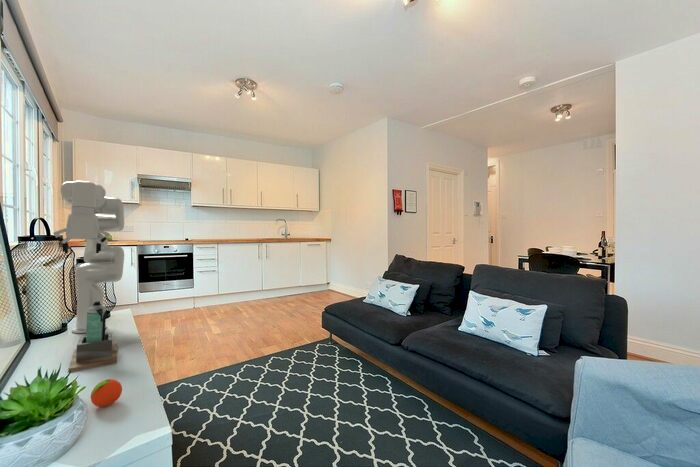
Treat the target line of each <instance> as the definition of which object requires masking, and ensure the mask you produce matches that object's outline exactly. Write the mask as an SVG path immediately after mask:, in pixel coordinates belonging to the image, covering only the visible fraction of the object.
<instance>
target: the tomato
mask: <svg viewBox="0 0 700 467" xmlns="http://www.w3.org/2000/svg"><path fill="white" fill-rule="evenodd" d="M122 392H123V387H122V384H121V382H119V381H118V380H116V379H114V378H113V379H112V378H109V379H105V380H101V381H100V382H99V383H97V384H96V385H95V386H94V387H93V388H92V391H91V393H90V401H91V404H93V405H94V406H96V407H98V408H106V407H109V406H112V405H114V404H115V403H116V402H117V401H118V400H119V399H120V397H121V395H122Z"/></svg>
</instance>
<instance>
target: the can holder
mask: <svg viewBox="0 0 700 467" xmlns="http://www.w3.org/2000/svg"><path fill="white" fill-rule="evenodd" d="M117 350H118V342H115V343H113V332H107V333H106V332H105V340H103V341H96V342H89V343H86V336H85V335H84V336H79V338H78V341H77V343H76V348H75V349H74V350H73V351H74V352H73V354H72V358H71V360H70V363H69V366H68V368H67V369H68V371H67V372H68V373H71V372H70V371H72V372H77V371H82V370H87V369H93V368H98V367H99V368H100V367H103V366H109V365H115V364H117V358H118V355H117V354H118V351H117Z"/></svg>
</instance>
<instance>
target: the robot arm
mask: <svg viewBox="0 0 700 467" xmlns="http://www.w3.org/2000/svg"><path fill="white" fill-rule="evenodd" d="M60 194H61V196H62V198H63V199H64V200H65V201H66V202H67V203H70V204H71V206H70V208H71V210H70V212H71V213H70V214H68V217H67V221H66V227H65V228H62V229H58V230H57V231H54V232H53V235H54V236H55V238H56V240H58V241H59V242H60V243H61V244H62V252H64V255H65V254H68V253H69V243H68V242H69V241H70V240H85V241H86V243H85V248H84V252H83V261H84V263H82V264H80V265H78V266H77V267H76V269H75V278H76V285H77V286H76V287H77V297H76V298H77V302H76V304H77V305H76V322H75V323H76V326H74V327H72V328H71V332H72V333H74V334H86V329H87V311H88V308H90V307H92V305H93V304H94V302H96V301H100V304H102V306H104V294H105V292H104V289H103V288H102V287H101V286H100V285H99V284H101V283H104V284H105V283H117V282H119V281H120V280H121V279H122V277H123V274H124V273H123V272H124V265H125V264H124V263H125V249H124V248H123V247H121V246H117V245H108V244H109V240H108V238H109V236H110V233H109V232H122V231H123V229H124V228H125V210H124V208H125V207H124V203H123V201H122V200H121V199H120V198H119V197H109V196H106V189H105V188H104V187H103V185H101V184H98V183H94V182H92V181H87V180H75V181H65V182H63V183H62V184H61V185H60ZM109 214H110V215H109ZM63 233H65V238H63V237H62V236H61V234H63ZM106 328H107V324H106V323H105V329H106Z"/></svg>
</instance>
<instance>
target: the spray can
mask: <svg viewBox="0 0 700 467" xmlns="http://www.w3.org/2000/svg"><path fill="white" fill-rule="evenodd" d="M106 307H107V306H105V305H103V306H102V304H100V301H96V302H94V304H93V305H92V307H90V308H88V311H87V329H86V333H85V334H86V343H89V342H96V341H103V340H105V334H106V328H105V324H106V323H107V322H106V318H107V309H106Z"/></svg>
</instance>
